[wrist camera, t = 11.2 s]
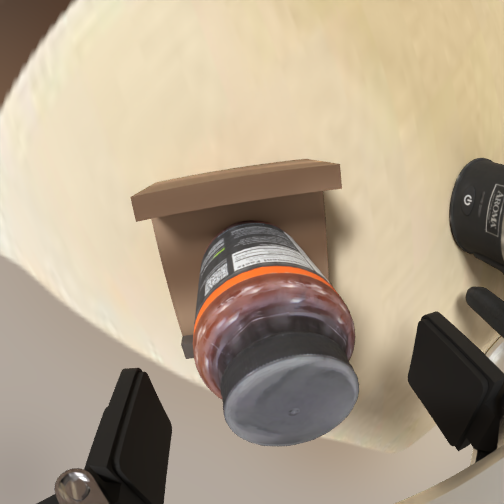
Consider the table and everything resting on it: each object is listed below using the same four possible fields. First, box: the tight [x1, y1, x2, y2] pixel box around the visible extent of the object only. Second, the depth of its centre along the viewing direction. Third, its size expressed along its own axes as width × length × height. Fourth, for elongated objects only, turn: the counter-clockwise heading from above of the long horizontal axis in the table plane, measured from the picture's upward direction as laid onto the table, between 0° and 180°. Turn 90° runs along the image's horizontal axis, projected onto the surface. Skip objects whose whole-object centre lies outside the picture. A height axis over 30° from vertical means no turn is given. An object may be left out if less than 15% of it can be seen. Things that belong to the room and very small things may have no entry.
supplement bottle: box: [193, 220, 359, 446], centre depth 13 cm, size 6×6×11 cm
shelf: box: [131, 159, 342, 359], centre depth 18 cm, size 12×10×6 cm
